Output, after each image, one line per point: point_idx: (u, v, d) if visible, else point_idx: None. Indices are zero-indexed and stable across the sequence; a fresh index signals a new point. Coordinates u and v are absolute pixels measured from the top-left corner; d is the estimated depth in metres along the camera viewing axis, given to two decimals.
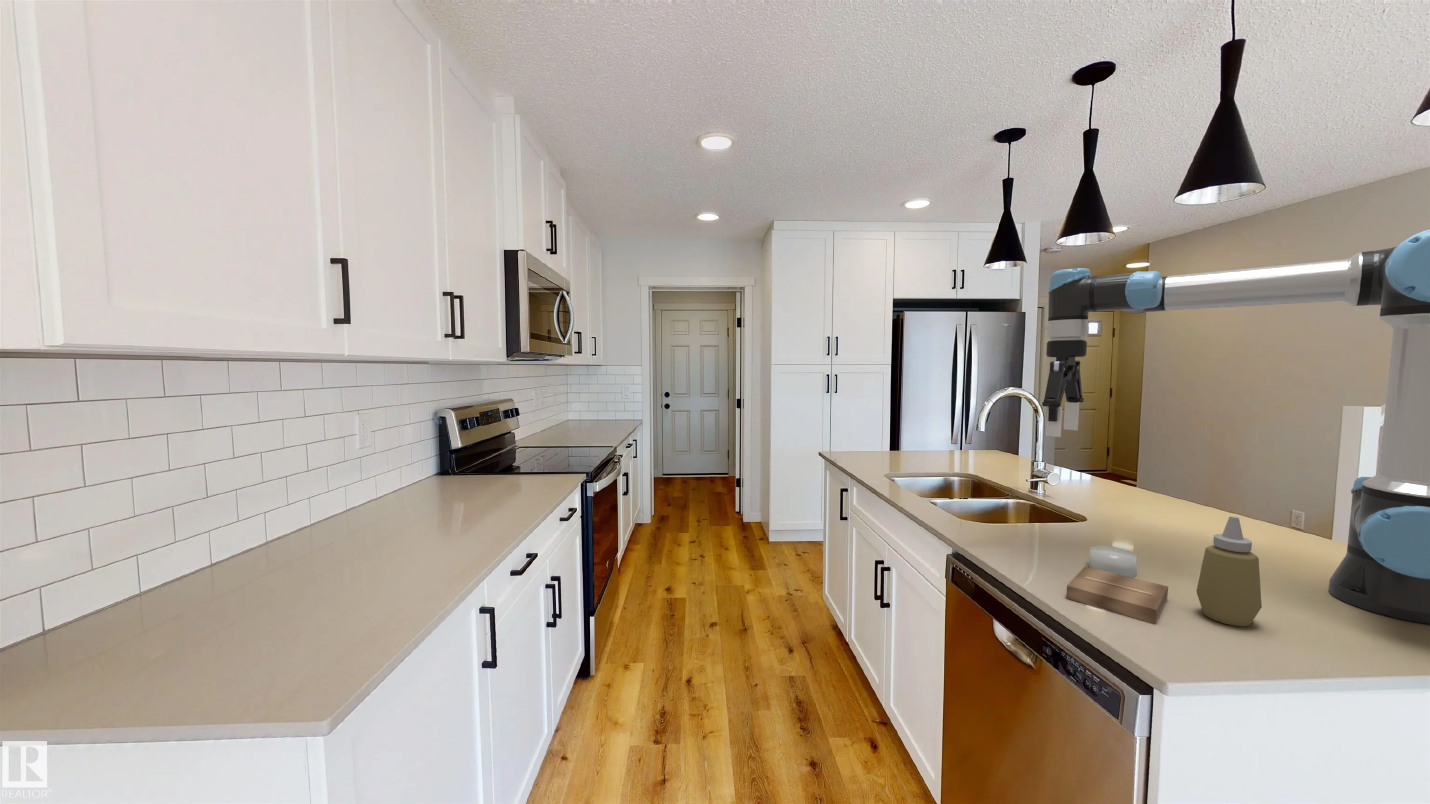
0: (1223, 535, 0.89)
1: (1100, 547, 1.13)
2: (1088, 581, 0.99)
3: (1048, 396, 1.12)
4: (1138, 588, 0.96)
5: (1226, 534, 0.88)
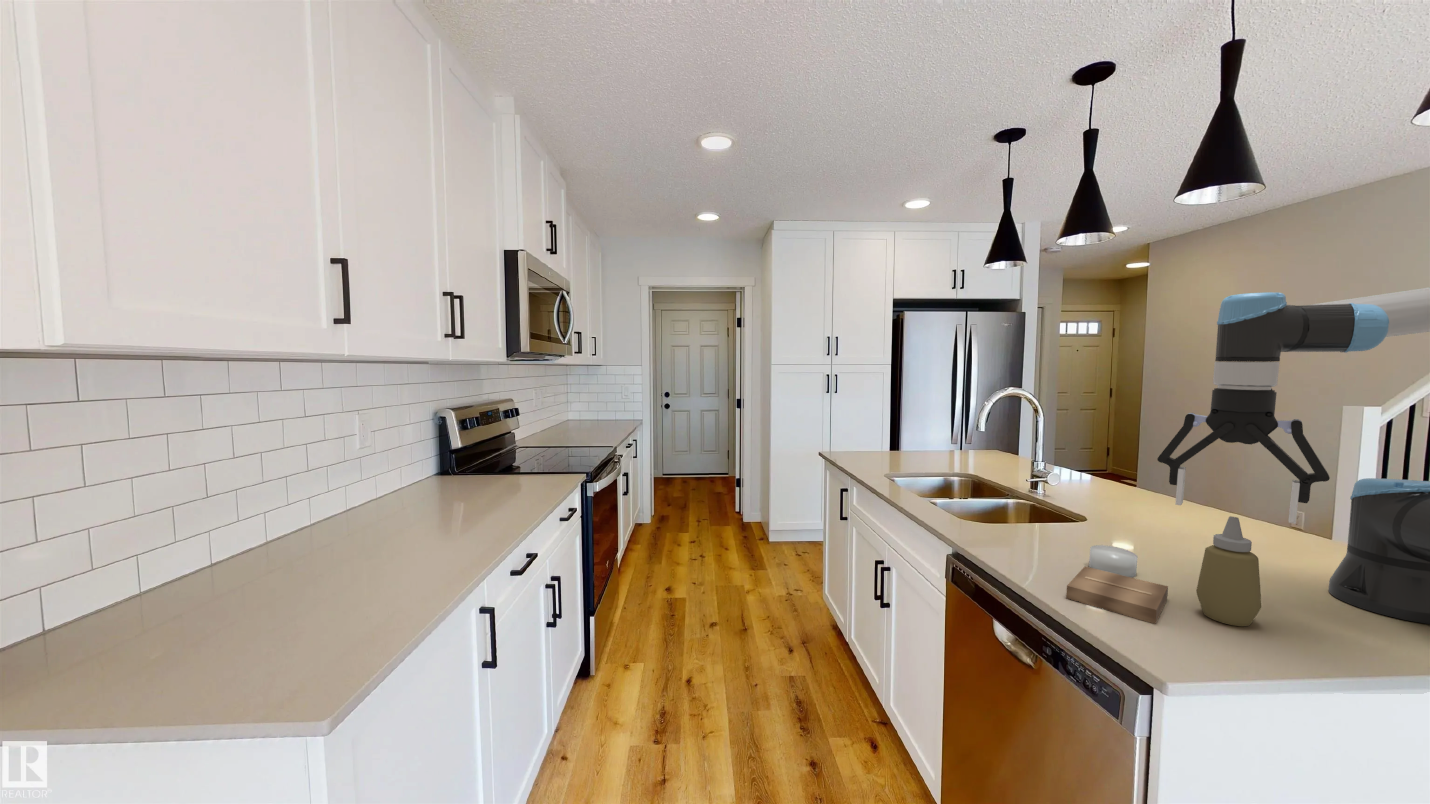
0: (1223, 535, 0.89)
1: (1100, 547, 1.13)
2: (1088, 581, 0.99)
3: None
4: (1138, 588, 0.96)
5: (1226, 534, 0.88)
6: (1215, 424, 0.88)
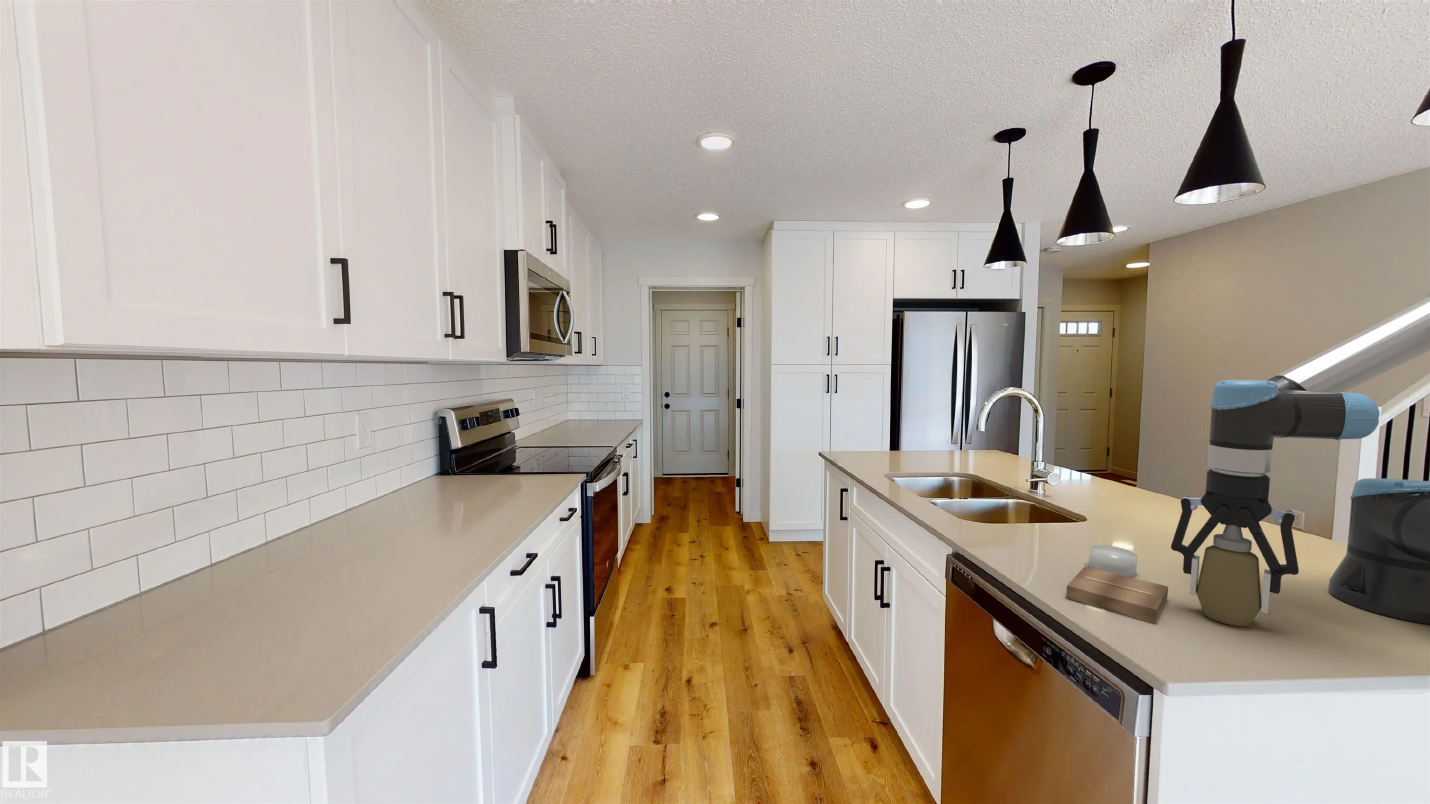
0: (1223, 535, 0.89)
1: (1100, 547, 1.13)
2: (1088, 581, 0.99)
3: None
4: (1138, 588, 0.96)
5: (1226, 534, 0.88)
6: (1211, 505, 0.89)
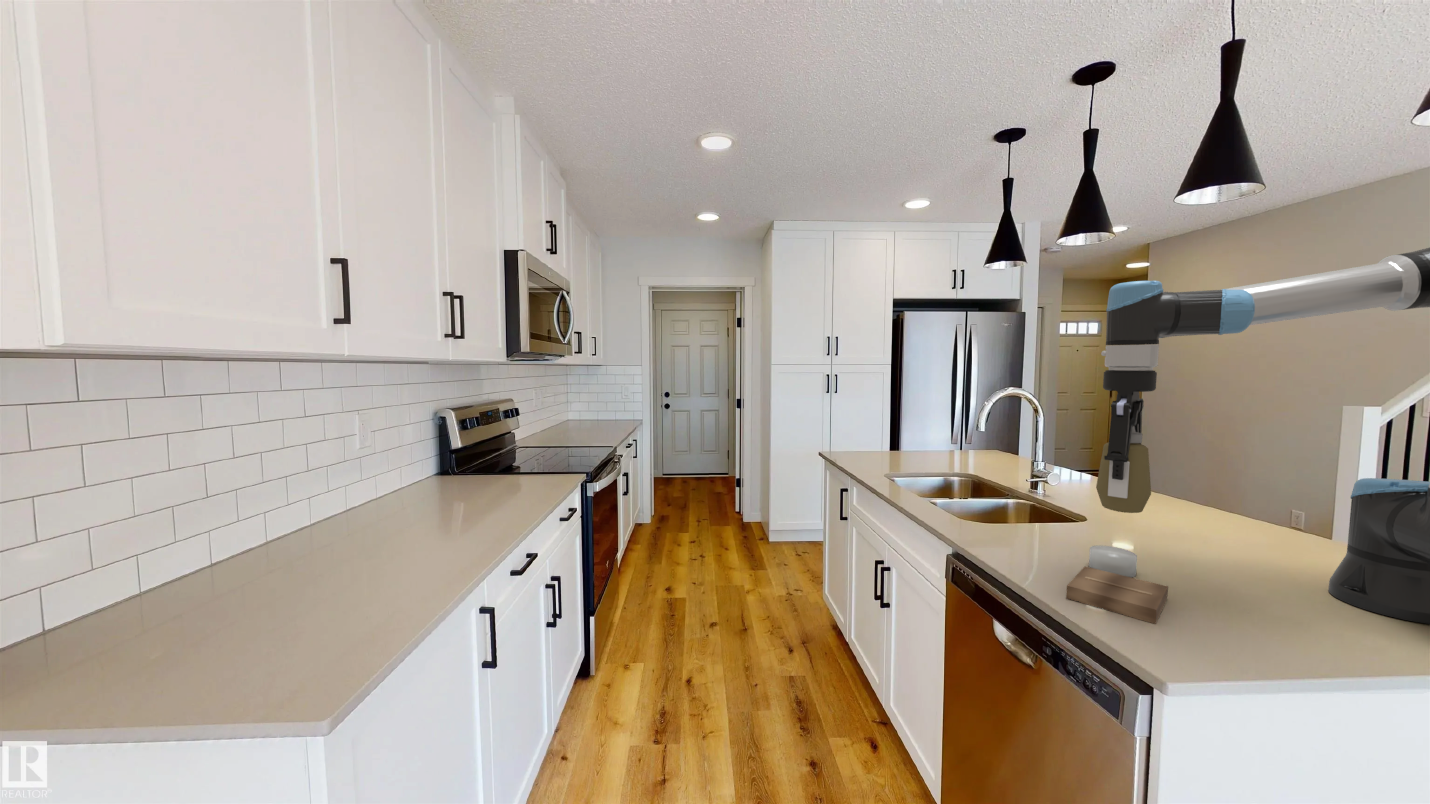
0: None
1: (1098, 547, 1.13)
2: (1088, 581, 0.99)
3: (1113, 449, 0.90)
4: (1138, 588, 0.96)
5: (1132, 429, 0.93)
6: (1132, 405, 0.91)
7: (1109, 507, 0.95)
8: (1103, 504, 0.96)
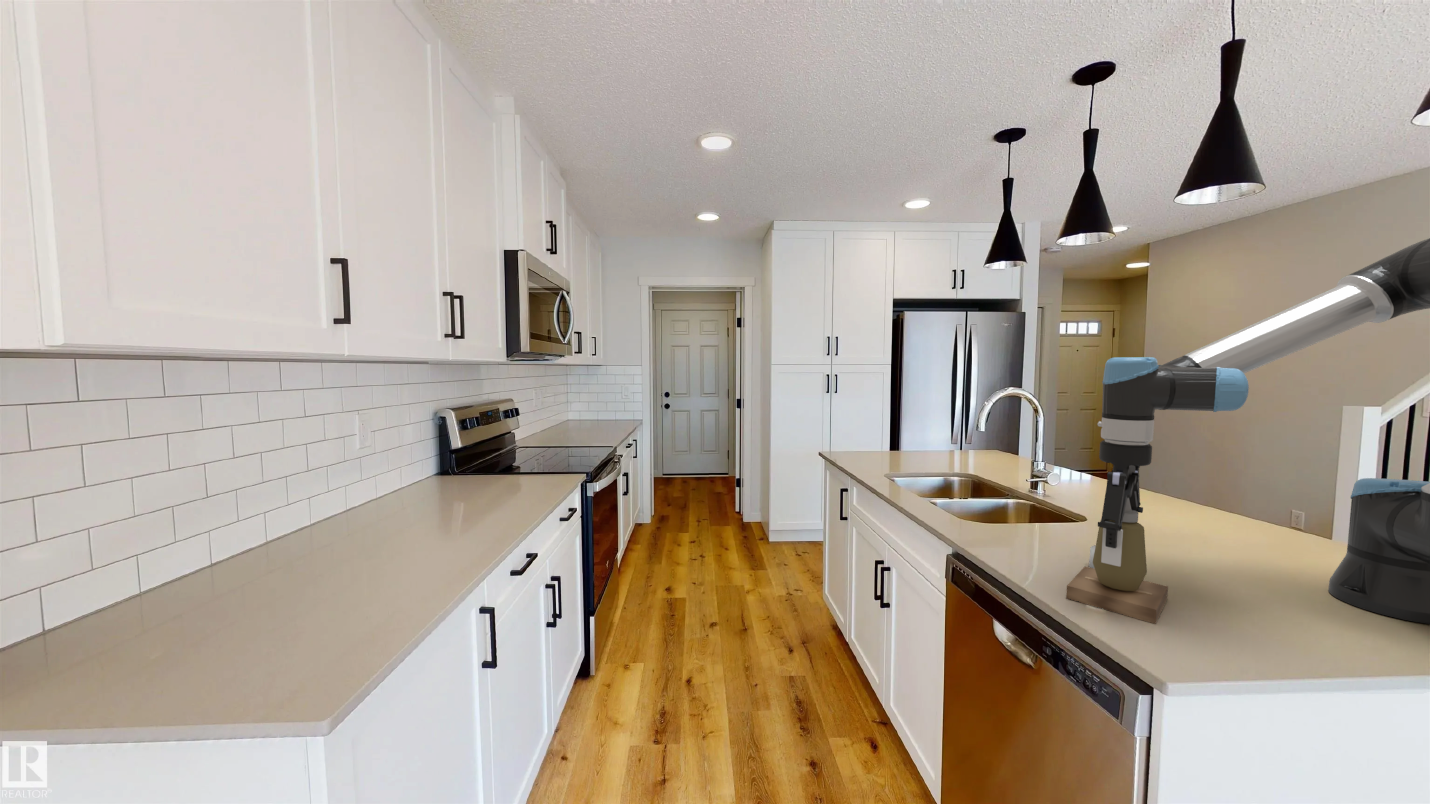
0: (1125, 510, 0.95)
1: None
2: (1088, 581, 0.99)
3: (1106, 517, 0.90)
4: (1138, 588, 0.96)
5: (1128, 508, 0.95)
6: (1128, 479, 0.92)
7: (1105, 583, 0.96)
8: (1099, 579, 0.98)
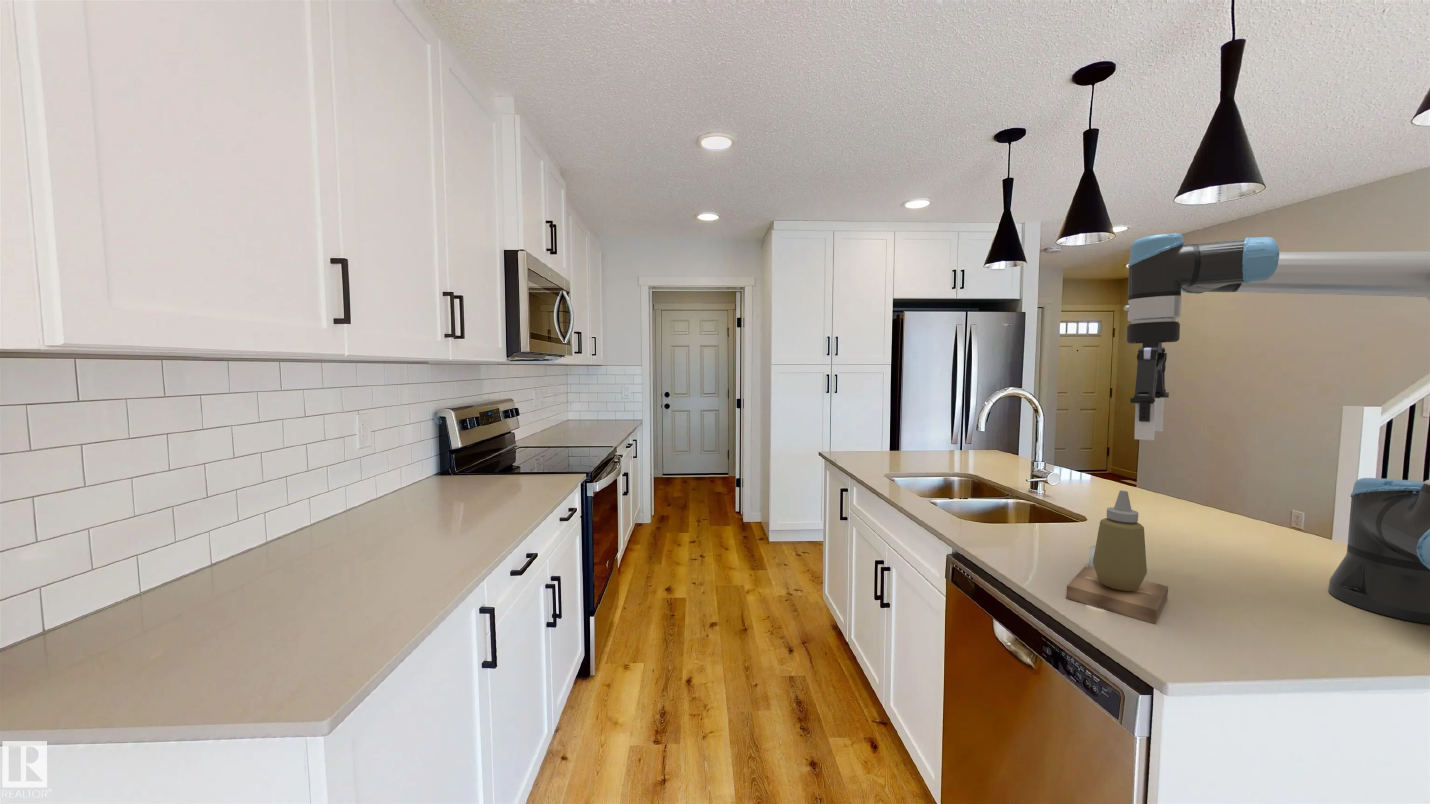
0: (1125, 510, 0.95)
1: None
2: (1088, 581, 0.99)
3: (1140, 390, 0.91)
4: (1138, 588, 0.96)
5: (1128, 508, 0.95)
6: (1157, 356, 0.94)
7: (1105, 583, 0.96)
8: (1099, 579, 0.98)
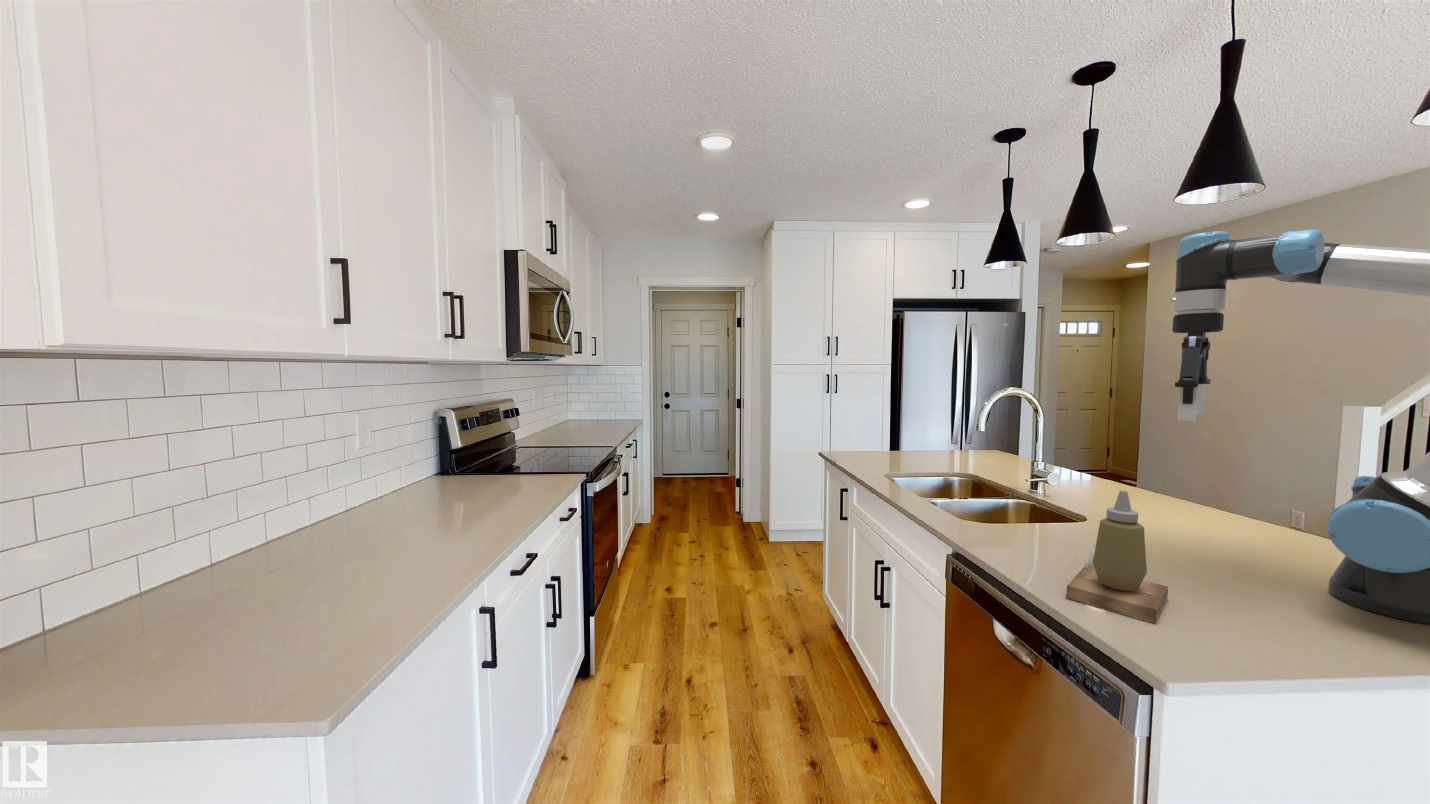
0: (1125, 510, 0.95)
1: None
2: (1088, 581, 0.99)
3: (1184, 375, 0.99)
4: (1138, 588, 0.96)
5: (1128, 508, 0.95)
6: (1202, 344, 1.02)
7: (1105, 584, 0.96)
8: (1099, 580, 0.98)
